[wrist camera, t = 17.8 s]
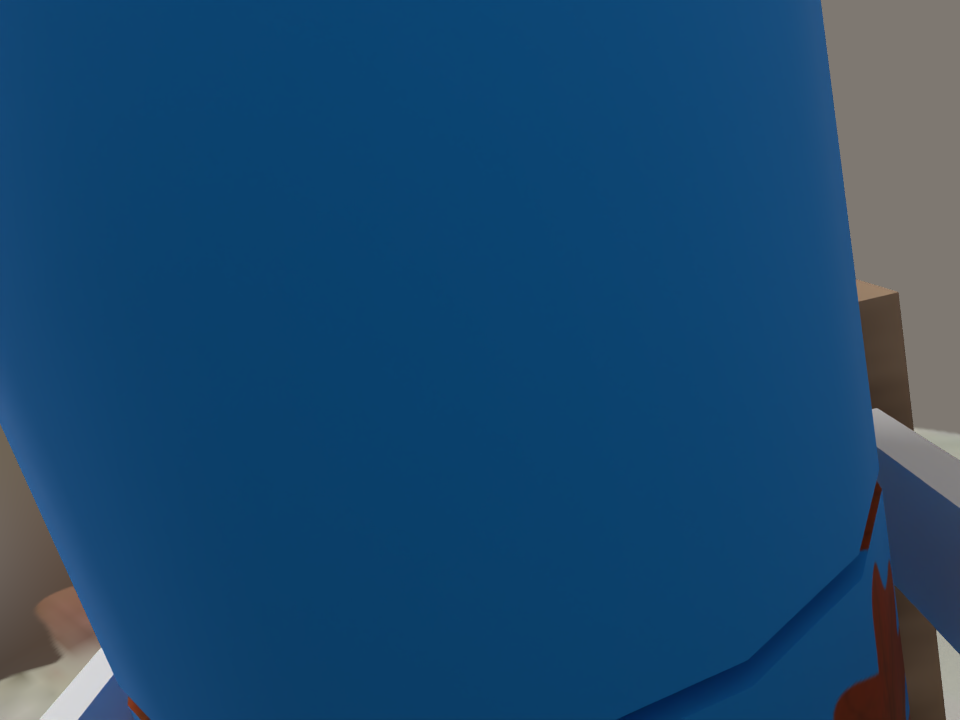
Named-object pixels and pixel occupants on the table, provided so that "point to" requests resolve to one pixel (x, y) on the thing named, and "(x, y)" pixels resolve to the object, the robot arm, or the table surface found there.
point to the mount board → (894, 400)
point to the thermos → (446, 357)
